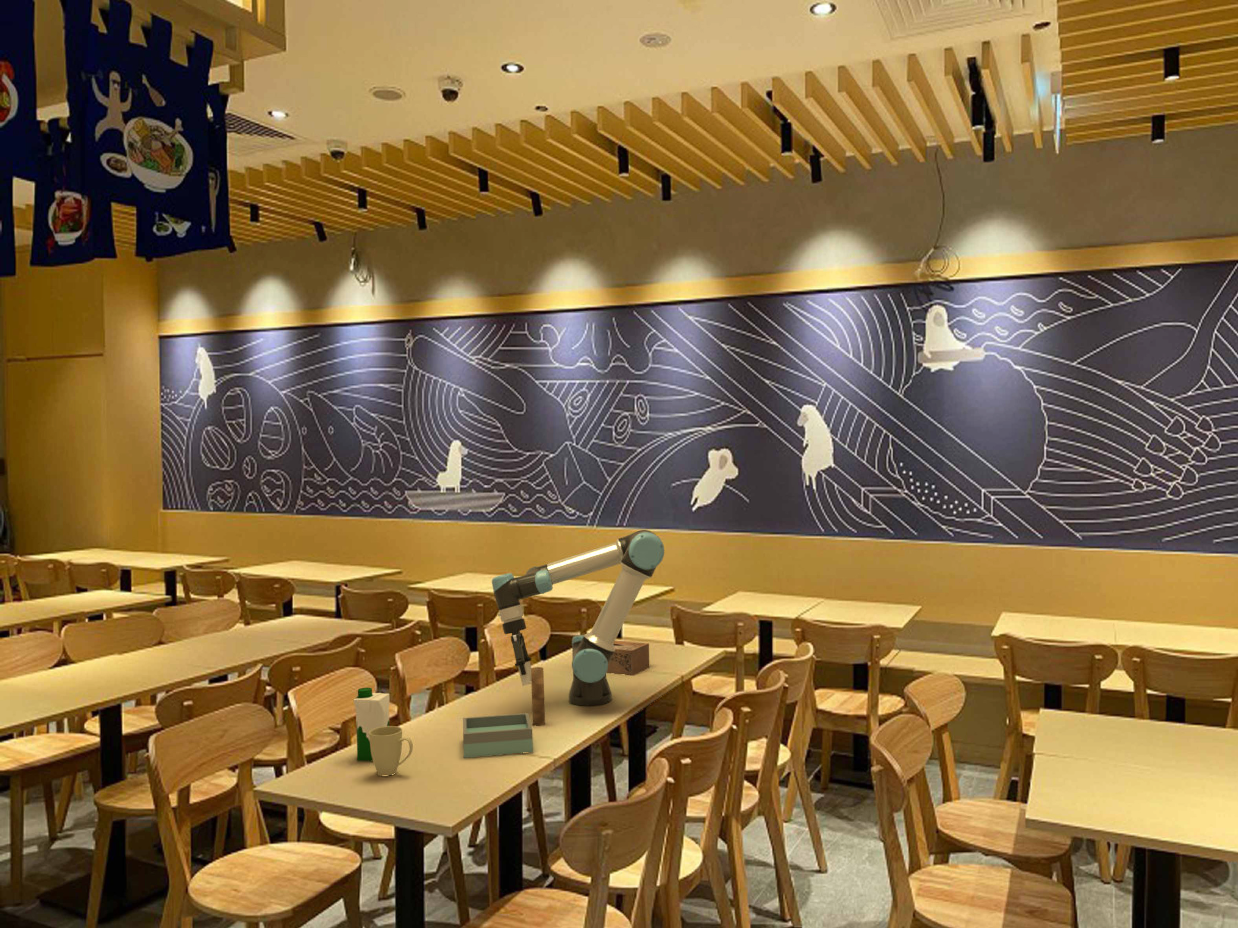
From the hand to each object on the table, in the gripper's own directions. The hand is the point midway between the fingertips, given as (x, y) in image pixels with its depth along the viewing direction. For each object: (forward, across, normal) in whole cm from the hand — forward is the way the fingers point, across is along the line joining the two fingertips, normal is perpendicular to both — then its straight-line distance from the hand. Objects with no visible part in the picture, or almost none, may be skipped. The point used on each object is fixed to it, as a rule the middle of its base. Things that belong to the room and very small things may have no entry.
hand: (528, 683), depth 317 cm
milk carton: (+7, +34, -46) cm, 57 cm away
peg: (+13, +6, 0) cm, 14 cm away
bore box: (+14, +27, -11) cm, 32 cm away
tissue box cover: (+8, -67, +27) cm, 72 cm away
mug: (+11, +48, -38) cm, 62 cm away
